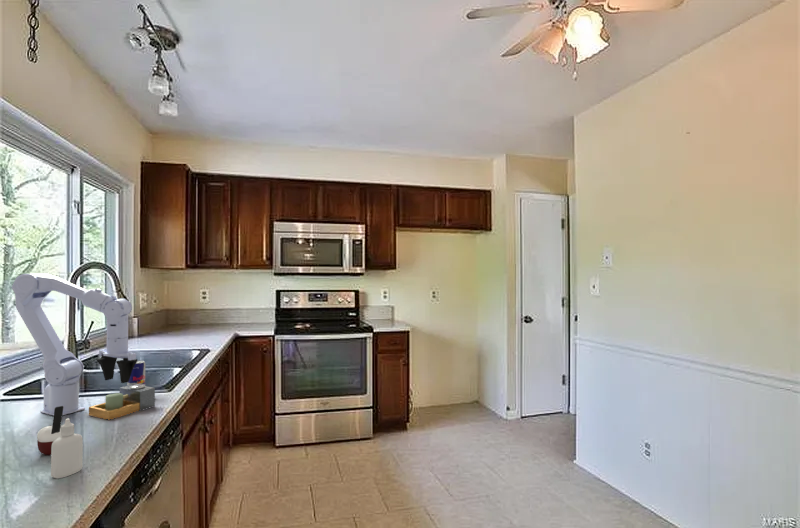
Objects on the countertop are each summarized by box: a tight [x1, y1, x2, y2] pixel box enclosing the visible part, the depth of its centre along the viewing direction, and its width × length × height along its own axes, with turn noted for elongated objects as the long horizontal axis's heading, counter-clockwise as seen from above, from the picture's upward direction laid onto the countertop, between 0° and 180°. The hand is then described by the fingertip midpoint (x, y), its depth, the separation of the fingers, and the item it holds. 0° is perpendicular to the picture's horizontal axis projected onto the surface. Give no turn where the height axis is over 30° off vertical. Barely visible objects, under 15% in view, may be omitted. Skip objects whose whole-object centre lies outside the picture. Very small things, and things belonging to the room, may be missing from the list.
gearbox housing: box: [88, 384, 156, 421], centre depth 142 cm, size 10×15×7 cm
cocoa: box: [36, 406, 63, 456], centre depth 110 cm, size 10×6×12 cm, turn 28°
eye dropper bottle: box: [50, 418, 84, 480], centre depth 100 cm, size 4×6×12 cm
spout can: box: [104, 392, 128, 410], centre depth 140 cm, size 5×7×6 cm
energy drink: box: [126, 360, 146, 386], centre depth 157 cm, size 5×5×12 cm
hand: (116, 380), depth 142 cm, fingers open, 7 cm apart
